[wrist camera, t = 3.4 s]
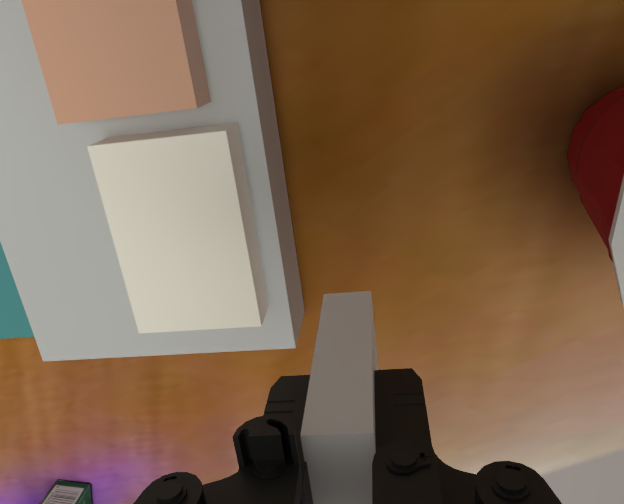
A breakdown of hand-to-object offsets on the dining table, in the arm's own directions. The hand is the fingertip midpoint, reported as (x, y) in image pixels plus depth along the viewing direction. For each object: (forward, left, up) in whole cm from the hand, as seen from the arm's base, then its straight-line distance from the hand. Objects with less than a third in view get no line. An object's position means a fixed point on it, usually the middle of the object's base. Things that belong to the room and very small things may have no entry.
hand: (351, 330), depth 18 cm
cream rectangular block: (-1, -8, -8) cm, 11 cm away
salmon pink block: (-11, -9, -8) cm, 17 cm away
